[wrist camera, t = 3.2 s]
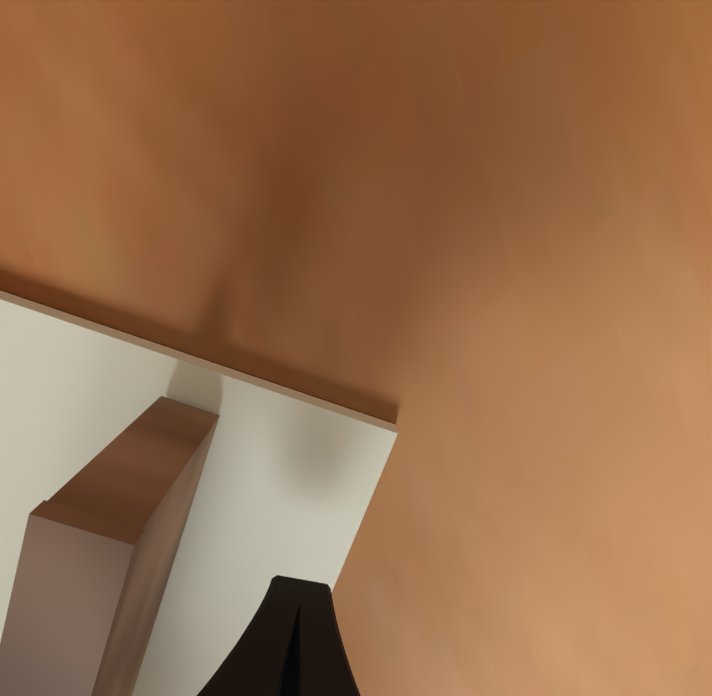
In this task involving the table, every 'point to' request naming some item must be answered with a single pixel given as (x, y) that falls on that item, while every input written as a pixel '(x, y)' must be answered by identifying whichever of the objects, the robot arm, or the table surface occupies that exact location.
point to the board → (216, 485)
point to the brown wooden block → (103, 559)
